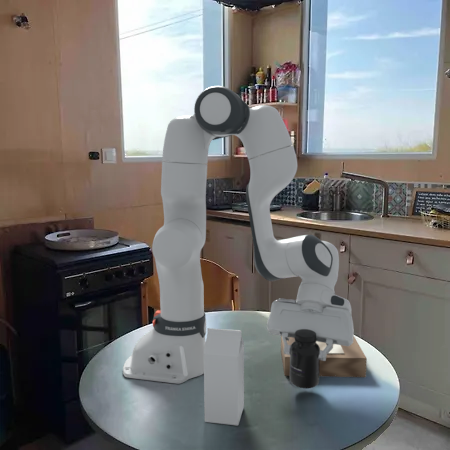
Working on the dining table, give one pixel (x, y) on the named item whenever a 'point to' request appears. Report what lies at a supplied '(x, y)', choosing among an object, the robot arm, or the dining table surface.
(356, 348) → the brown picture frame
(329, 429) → the dining table surface
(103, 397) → the dining table surface
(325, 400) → the dining table surface
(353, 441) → the dining table surface
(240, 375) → the milk carton
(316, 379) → the supplement bottle
